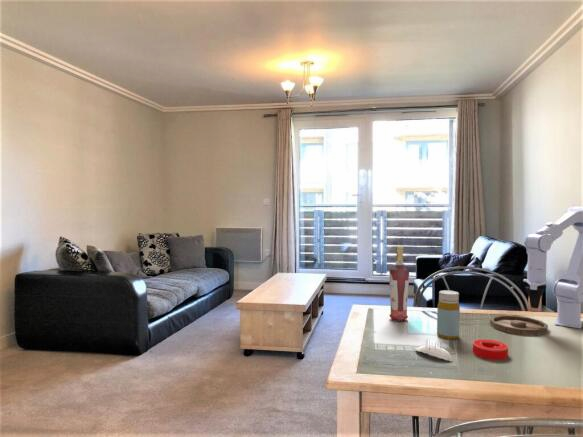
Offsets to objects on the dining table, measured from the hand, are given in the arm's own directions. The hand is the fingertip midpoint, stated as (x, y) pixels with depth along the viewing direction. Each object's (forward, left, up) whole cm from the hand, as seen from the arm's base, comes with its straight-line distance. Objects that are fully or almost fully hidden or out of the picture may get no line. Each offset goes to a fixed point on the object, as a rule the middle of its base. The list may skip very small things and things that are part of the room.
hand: (535, 306), depth 156 cm
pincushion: (+46, -21, -9) cm, 52 cm away
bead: (0, 0, -1) cm, 1 cm away
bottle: (+25, -23, -8) cm, 35 cm away
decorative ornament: (+34, -8, -9) cm, 36 cm away
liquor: (+16, -44, -8) cm, 47 cm away
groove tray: (0, -5, -8) cm, 10 cm away
